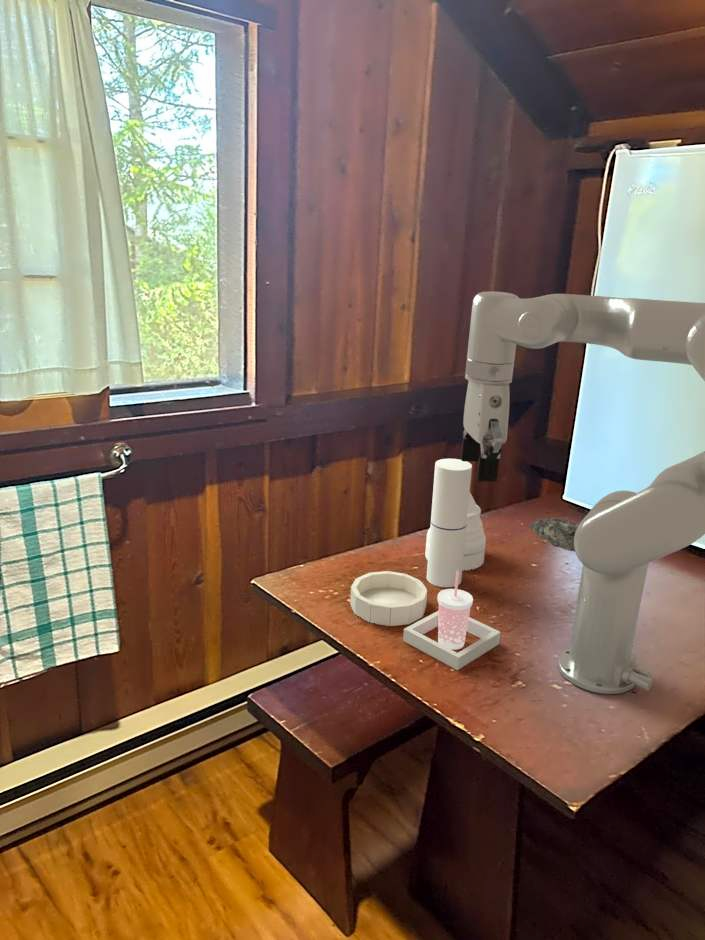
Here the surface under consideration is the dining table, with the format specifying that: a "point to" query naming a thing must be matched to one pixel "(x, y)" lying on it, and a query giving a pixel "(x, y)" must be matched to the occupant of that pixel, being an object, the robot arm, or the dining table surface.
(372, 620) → the bowl
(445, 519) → the cylindrical container
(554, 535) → the geode
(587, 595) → the robot arm
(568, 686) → the dining table surface
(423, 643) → the open square frame
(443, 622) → the beverage cup
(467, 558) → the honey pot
